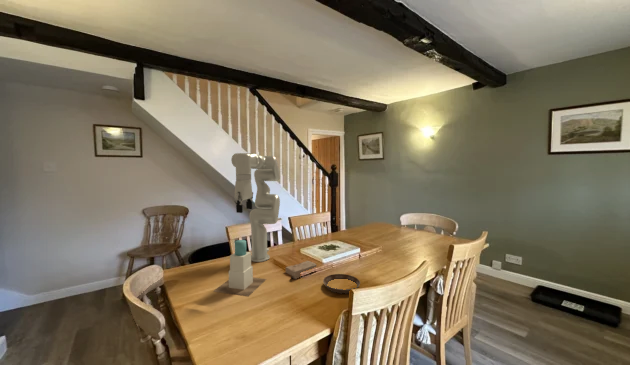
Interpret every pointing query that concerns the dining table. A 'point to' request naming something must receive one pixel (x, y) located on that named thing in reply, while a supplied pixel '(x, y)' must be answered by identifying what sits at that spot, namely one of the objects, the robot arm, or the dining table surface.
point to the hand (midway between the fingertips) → (244, 210)
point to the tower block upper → (240, 262)
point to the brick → (299, 268)
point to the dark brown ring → (340, 276)
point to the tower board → (247, 292)
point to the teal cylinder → (240, 247)
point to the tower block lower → (241, 279)
